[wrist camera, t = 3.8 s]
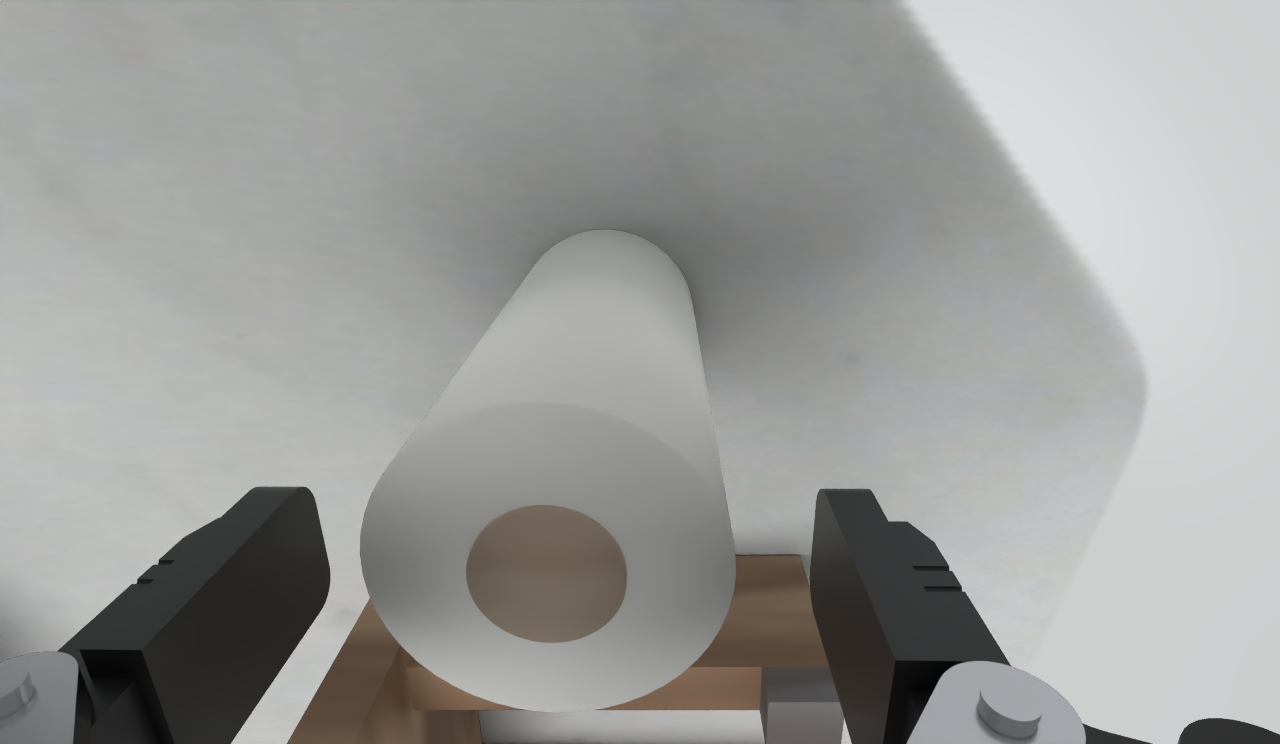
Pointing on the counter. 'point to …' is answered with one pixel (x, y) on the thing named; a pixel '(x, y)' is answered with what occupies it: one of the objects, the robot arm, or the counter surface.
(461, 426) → the roll
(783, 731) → the holder
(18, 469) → the counter surface
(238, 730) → the robot arm
